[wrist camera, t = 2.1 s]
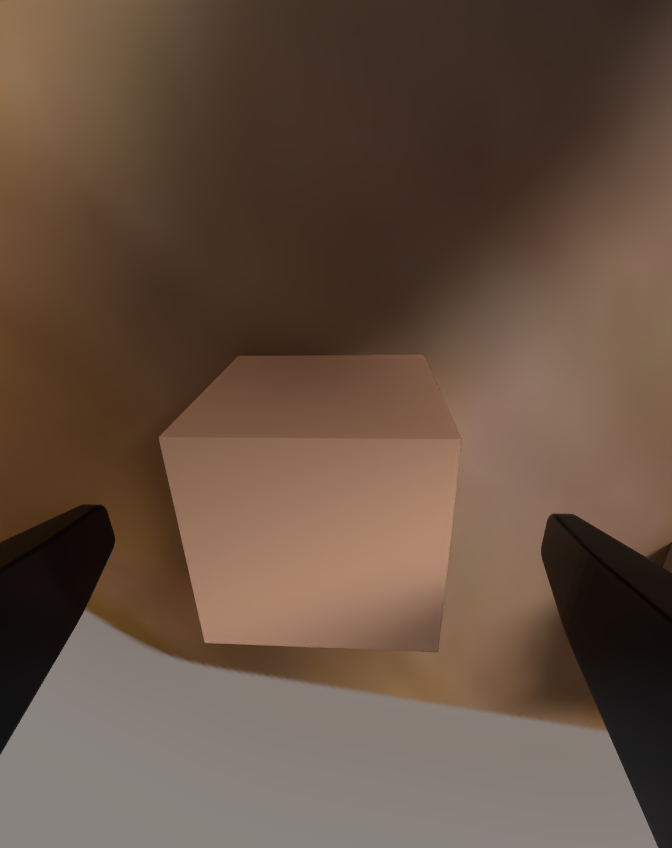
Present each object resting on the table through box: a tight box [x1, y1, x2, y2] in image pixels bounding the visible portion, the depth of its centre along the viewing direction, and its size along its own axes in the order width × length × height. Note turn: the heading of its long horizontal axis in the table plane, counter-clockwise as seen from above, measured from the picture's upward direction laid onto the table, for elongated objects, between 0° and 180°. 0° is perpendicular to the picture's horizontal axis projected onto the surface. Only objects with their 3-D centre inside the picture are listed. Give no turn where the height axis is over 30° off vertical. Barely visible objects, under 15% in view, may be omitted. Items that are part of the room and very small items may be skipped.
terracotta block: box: [159, 355, 462, 652], centre depth 10 cm, size 5×5×5 cm
